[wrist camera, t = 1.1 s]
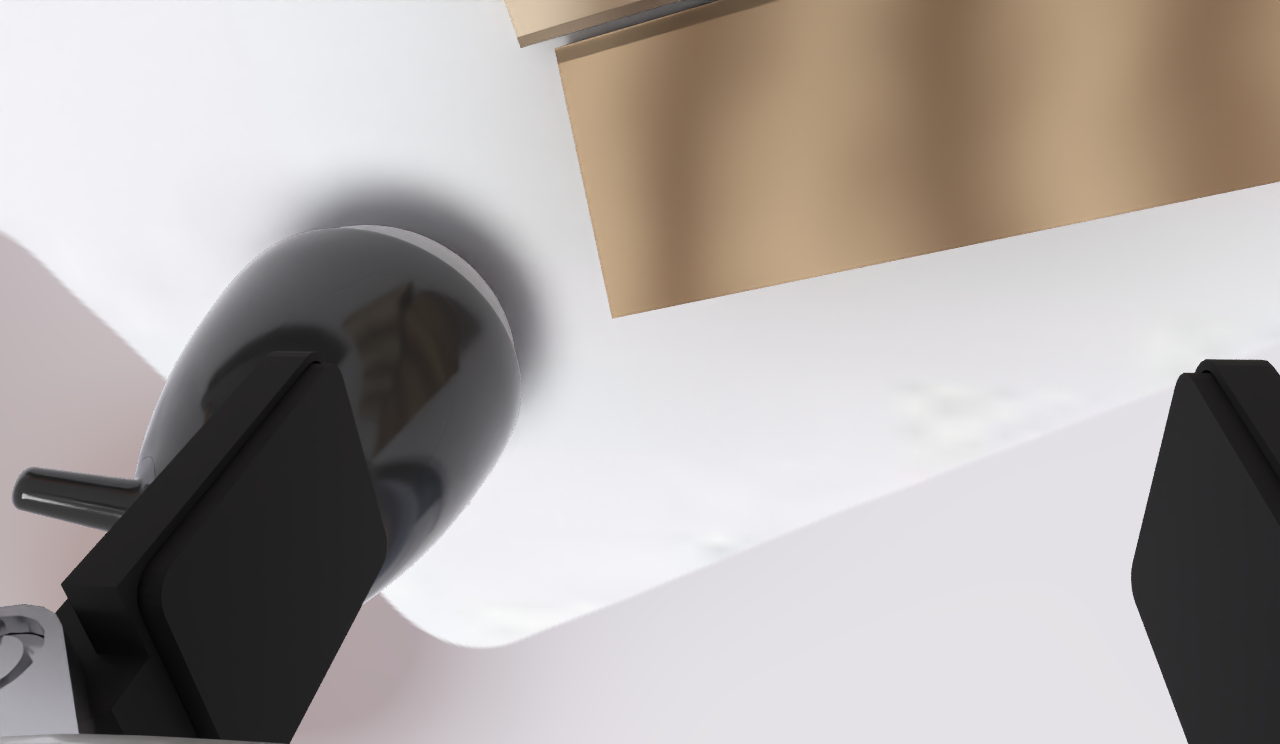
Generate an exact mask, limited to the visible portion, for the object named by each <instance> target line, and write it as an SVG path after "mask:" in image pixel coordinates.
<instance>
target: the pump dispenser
mask: <svg viewBox="0 0 1280 744" xmlns="http://www.w3.org/2000/svg"><path fill="white" fill-rule="evenodd" d="M276 351H290V352H319V353H321V354H323V356H324V357H325V358H326V360H327V362H328V364H335V365H337V366H338V368H339V369H340V371H341V373H342V376H343V379H344V383H345V387H346V390H347V394H348V398H349V401H350V405H351V408H352V412H353V416H354V419H355V423H356V427H357V430H358V434H359V438H360V441H361V445H362V448H363V452H364V456H365V459H366V463H367V467H368V470H369V474H370V478H371V481H372V485H373V489H374V492H375V496H376V499H377V503H378V507H379V510H380V514H381V518H382V521H383V525H384V529H385V532H386V537H387V551H386V557H385V561H384V564H383V566H382V568H381V570H380V572H379V574H378V576H377V578H376V580H375V581H374V583H373V585H372V587H371V589H370V591H369V593H368V595H367V597H366V599H365V601H364V602H363V604H365V603H366V602H368V601H369V600H370V599H372V598H373V597H374V596H375V595H377V594H378V593H380V592H381V591H382V590H383V589H385V588H386V587H387V586H389V585H390V584H391V583H392V582H393V581H395V580H396V579H397V578H398V577H399V576H401V575H402V574H403V573H404V572H405V571H406V570H408V569H409V568H410V567H411V566H412V565H413V564H414V563H415V562H417V561H418V560H419V559H420V558H421V557H422V556H423V555H424V554H425V553H426V552H427V551H428V550H429V549H430V548H431V547H432V546H433V545H434V544H435V543H436V542H437V541H438V540H439V539H440V538H441V537H442V535H443V534H444V533H445V532H446V531H447V530H448V529H449V528H450V526H451V525H452V524H453V523H454V522H455V520H456V519H457V518H458V517H459V516H460V514H461V513H462V512H463V510H464V509H465V508H466V506H467V505H468V504H469V503H470V501H471V500H472V499H473V497H474V496H475V494H476V493H477V492H478V490H479V489H480V487H481V486H482V484H483V483H484V482H485V480H486V479H487V477H488V476H489V474H490V473H491V471H492V470H493V468H494V467H495V465H496V464H497V462H498V460H499V458H500V457H501V455H502V453H503V451H504V449H505V447H506V445H507V443H508V441H509V439H510V437H511V434H512V432H513V429H514V427H515V424H516V421H517V418H518V414H519V409H520V403H521V374H520V368H519V363H518V359H517V355H516V352H515V347H514V341H513V336H512V333H511V329H510V326H509V323H508V320H507V318H506V315H505V313H504V311H503V309H502V307H501V305H500V303H499V301H498V299H497V298H496V296H495V295H494V293H493V291H492V290H491V288H490V287H489V286H488V284H487V283H486V282H485V280H484V279H483V278H482V277H481V276H480V275H479V274H478V273H477V272H476V271H475V270H474V269H473V268H472V267H471V266H470V265H469V264H468V263H467V262H466V261H464V260H463V259H462V258H461V257H459V256H458V255H457V254H455V253H454V252H452V251H451V250H449V249H448V248H446V247H445V246H443V245H441V244H439V243H437V242H436V241H433V240H431V239H429V238H427V237H425V236H422V235H419V234H417V233H414V232H411V231H407V230H403V229H399V228H393V227H387V226H378V225H354V226H345V227H339V228H327V229H318V230H312V231H307V232H303V233H300V234H296V235H294V236H291V237H288V238H286V239H284V240H282V241H280V242H278V243H276V244H274V245H272V246H271V247H269V248H268V249H266V250H265V251H263V252H262V253H261V254H260V255H258V256H257V257H256V258H255V259H254V260H252V261H251V262H250V263H249V264H248V265H247V266H246V267H245V268H244V269H243V270H242V271H241V272H240V273H239V274H238V275H237V276H236V277H235V278H234V279H233V280H232V282H231V283H230V284H229V285H228V286H227V287H226V289H225V290H224V291H223V293H222V294H221V295H220V297H219V298H218V299H217V301H216V302H215V303H214V305H213V306H212V307H211V309H210V310H209V312H208V313H207V314H206V316H205V317H204V319H203V320H202V321H201V323H200V324H199V326H198V327H197V329H196V330H195V332H194V333H193V335H192V337H191V338H190V340H189V341H188V343H187V344H186V346H185V348H184V349H183V351H182V353H181V355H180V356H179V358H178V360H177V362H176V364H175V366H174V368H173V369H172V371H171V373H170V375H169V377H168V380H167V382H166V384H165V386H164V388H163V390H162V393H161V395H160V397H159V400H158V402H157V405H156V407H155V410H154V412H153V415H152V417H151V420H150V423H149V426H148V428H147V431H146V435H145V437H144V441H143V444H142V448H141V451H140V455H139V459H138V463H137V469H136V474H135V478H134V479H127V478H119V477H111V476H103V475H95V474H87V473H79V472H72V471H63V470H56V469H49V468H41V467H30V468H27V469H26V470H24V471H23V472H22V473H21V474H20V475H19V477H18V479H17V481H16V483H15V486H14V489H13V492H12V502H13V504H14V506H15V507H16V508H17V509H19V510H22V511H26V512H30V513H34V514H38V515H42V516H46V517H50V518H54V519H58V520H62V521H66V522H70V523H74V524H78V525H82V526H86V527H90V528H94V529H98V530H102V531H106V532H108V531H109V530H110V529H111V528H112V527H113V525H114V524H115V523H116V522H117V521H118V520H119V519H120V518H121V517H122V515H123V514H124V513H125V512H126V511H127V510H128V509H129V508H130V506H131V505H132V504H133V503H134V502H135V501H136V500H137V499H138V498H139V496H140V495H141V494H142V493H143V492H144V491H145V490H146V489H147V488H148V486H149V485H150V484H151V483H152V482H153V481H154V480H155V479H156V477H157V476H158V475H159V474H160V473H161V472H162V471H163V470H164V469H165V467H166V466H167V465H168V464H169V463H170V462H171V461H172V460H173V458H174V457H175V456H176V455H177V454H178V453H179V452H180V451H181V450H182V448H183V447H184V446H185V445H186V444H187V443H188V442H189V441H190V440H191V438H192V437H193V436H194V435H195V434H196V433H197V432H198V431H199V429H200V428H201V427H202V426H203V425H204V424H205V423H206V422H207V421H208V419H209V418H210V417H211V416H212V415H213V414H214V413H215V412H216V410H217V409H218V408H219V407H220V406H221V405H222V404H223V403H224V402H225V400H226V399H227V398H228V397H229V396H230V395H231V394H232V393H233V392H234V390H235V389H236V388H237V387H238V386H239V385H240V384H241V383H242V381H243V380H244V379H245V378H246V377H247V376H248V375H249V374H250V373H251V371H252V370H253V369H254V368H255V367H256V366H257V365H258V364H259V362H260V361H261V360H262V359H263V358H264V357H265V356H266V355H267V354H269V353H270V352H276ZM363 604H362V605H363Z"/></svg>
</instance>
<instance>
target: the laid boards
mask: <svg viewBox="0 0 1280 744" xmlns="http://www.w3.org/2000/svg"><path fill="white" fill-rule="evenodd" d="M504 1H505V4H506V7H507V10H508V12H509V15H510V18H511V21H512V23H513V26H514V29H515V32H516V34H517V39H518V41H519V44H520V47H521V48H522V47H525V46H529V45H532V44H536V43H539V42H542V41H546V40H549V39H552V38H556V37H559V36H563V35H566V34H569V33H573V32H576V31H579V30H583V29H586V28H590V27H593V26H596V25H600V24H603V23H606V22H610V21H613V20H616V19H620V18H623V17H627V16H630V15H633V14H637V13H640V12H643V11H647V10H650V9H654V8H657V7H660V6H664V5H667V4H670V3H674V2H677V1H681V0H504Z"/></svg>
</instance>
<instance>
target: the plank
mask: <svg viewBox="0 0 1280 744" xmlns="http://www.w3.org/2000/svg"><path fill="white" fill-rule="evenodd" d="M555 52H556V57H557V62H558V66H559V71H560V76H561V80H562V85H563V90H564V94H565V99H566V104H567V108H568V113H569V118H570V123H571V127H572V132H573V137H574V141H575V146H576V151H577V155H578V160H579V165H580V170H581V174H582V179H583V184H584V188H585V193H586V198H587V202H588V207H589V212H590V216H591V221H592V226H593V231H594V235H595V240H596V245H597V249H598V254H599V259H600V263H601V268H602V273H603V277H604V282H605V287H606V292H607V296H608V301H609V306H610V310H611V315H612V318H617V317H622V316H627V315H632V314H637V313H641V312H646V311H651V310H656V309H661V308H666V307H671V306H675V305H680V304H685V303H690V302H695V301H700V300H705V299H710V298H714V297H719V296H724V295H729V294H734V293H739V292H744V291H749V290H753V289H758V288H763V287H768V286H773V285H778V284H783V283H787V282H792V281H797V280H802V279H807V278H812V277H817V276H822V275H826V274H831V273H836V272H841V271H846V270H851V269H856V268H861V267H865V266H870V265H875V264H880V263H885V262H890V261H895V260H899V259H904V258H909V257H914V256H919V255H924V254H929V253H934V252H938V251H943V250H948V249H953V248H958V247H963V246H968V245H973V244H977V243H982V242H987V241H992V240H997V239H1002V238H1007V237H1011V236H1016V235H1021V234H1026V233H1031V232H1036V231H1041V230H1046V229H1050V228H1055V227H1060V226H1065V225H1070V224H1075V223H1080V222H1085V221H1089V220H1094V219H1099V218H1104V217H1109V216H1114V215H1119V214H1123V213H1128V212H1133V211H1138V210H1143V209H1148V208H1153V207H1158V206H1162V205H1167V204H1172V203H1177V202H1182V201H1187V200H1192V199H1197V198H1201V197H1206V196H1211V195H1216V194H1221V193H1226V192H1231V191H1235V190H1240V189H1245V188H1250V187H1255V186H1260V185H1265V184H1270V183H1274V182H1279V181H1280V0H719V1H715V2H712V3H708V4H705V5H702V6H698V7H695V8H691V9H688V10H685V11H681V12H678V13H674V14H671V15H667V16H664V17H661V18H657V19H654V20H650V21H647V22H644V23H640V24H637V25H633V26H630V27H627V28H623V29H620V30H616V31H613V32H610V33H606V34H603V35H599V36H596V37H592V38H589V39H586V40H582V41H579V42H575V43H572V44H569V45H565V46H562V47H558V48H555Z"/></svg>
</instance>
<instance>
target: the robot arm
mask: <svg viewBox="0 0 1280 744" xmlns="http://www.w3.org/2000/svg"><path fill="white" fill-rule="evenodd" d="M386 551H387V537H386V532H385V529H384V525H383V521H382V518H381V514H380V510H379V507H378V503H377V499H376V496H375V492H374V489H373V485H372V481H371V478H370V474H369V470H368V467H367V463H366V459H365V456H364V452H363V448H362V445H361V441H360V438H359V434H358V430H357V427H356V423H355V419H354V416H353V412H352V408H351V405H350V401H349V398H348V394H347V390H346V387H345V383H344V379H343V376H342V373H341V371H340V369H339V368H338V366H337V365H335V364H328V362H327V360H326V358H325V357H324V356H323V354H321V353H319V352H290V351H276V352H270V353H269V354H267V355H266V356H265V357H264V358H263V359H262V360H261V361H260V362H259V364H258V365H257V366H256V367H255V368H254V369H253V370H252V371H251V373H250V374H249V375H248V376H247V377H246V378H245V379H244V380H243V381H242V383H241V384H240V385H239V386H238V387H237V388H236V389H235V390H234V392H233V393H232V394H231V395H230V396H229V397H228V398H227V399H226V400H225V402H224V403H223V404H222V405H221V406H220V407H219V408H218V409H217V410H216V412H215V413H214V414H213V415H212V416H211V417H210V418H209V419H208V421H207V422H206V423H205V424H204V425H203V426H202V427H201V428H200V429H199V431H198V432H197V433H196V434H195V435H194V436H193V437H192V438H191V440H190V441H189V442H188V443H187V444H186V445H185V446H184V447H183V448H182V450H181V451H180V452H179V453H178V454H177V455H176V456H175V457H174V458H173V460H172V461H171V462H170V463H169V464H168V465H167V466H166V467H165V469H164V470H163V471H162V472H161V473H160V474H159V475H158V476H157V477H156V479H155V480H154V481H153V482H152V483H151V484H150V485H149V486H148V488H147V489H146V490H145V491H144V492H143V493H142V494H141V495H140V496H139V498H138V499H137V500H136V501H135V502H134V503H133V504H132V505H131V506H130V508H129V509H128V510H127V511H126V512H125V513H124V514H123V515H122V517H121V518H120V519H119V520H118V521H117V522H116V523H115V524H114V525H113V527H112V528H111V529H110V530H109V531H108V532H107V533H106V534H105V536H104V537H103V538H102V539H101V540H100V541H99V542H98V543H97V544H96V546H95V547H94V548H93V549H92V550H91V551H90V552H89V553H88V554H87V556H86V557H85V558H84V559H83V560H82V561H81V562H80V563H79V565H78V566H77V567H76V568H75V569H74V570H73V571H72V572H71V573H70V575H69V576H68V577H67V578H66V579H65V580H64V581H63V583H62V584H61V586H62V588H63V590H64V591H65V593H66V595H67V597H68V599H67V600H66V601H65V602H64V603H63V605H62V606H61V607H60V608H59V609H58V610H57V612H56V613H53V612H51V611H50V610H48V609H46V608H45V607H41V606H34V605H27V604H22V605H13V606H4V607H0V744H290V742H291V740H292V738H293V736H294V734H295V732H296V730H297V728H298V726H299V725H300V723H301V721H302V719H303V717H304V715H305V713H306V711H307V709H308V707H309V705H310V703H311V702H312V700H313V698H314V696H315V694H316V692H317V690H318V688H319V686H320V684H321V683H322V681H323V678H324V677H325V675H326V673H327V671H328V669H329V667H330V665H331V663H332V661H333V660H334V658H335V656H336V654H337V652H338V650H339V648H340V646H341V644H342V643H343V640H344V639H345V637H346V635H347V633H348V631H349V629H350V627H351V625H352V623H353V622H354V620H355V618H356V616H357V614H358V612H359V610H360V608H361V606H362V604H363V602H364V601H365V599H366V597H367V595H368V593H369V591H370V589H371V587H372V585H373V583H374V581H375V580H376V578H377V576H378V574H379V572H380V570H381V568H382V566H383V564H384V561H385V557H386ZM1131 583H1132V592H1133V596H1134V600H1135V603H1136V606H1137V608H1138V611H1139V613H1140V616H1141V619H1142V621H1143V624H1144V627H1145V630H1146V632H1147V635H1148V638H1149V640H1150V643H1151V645H1152V648H1153V651H1154V654H1155V656H1156V659H1157V662H1158V664H1159V667H1160V669H1161V672H1162V675H1163V678H1164V680H1165V683H1166V686H1167V688H1168V691H1169V694H1170V696H1171V699H1172V702H1173V704H1174V707H1175V710H1176V712H1177V715H1178V718H1179V720H1180V723H1181V726H1182V728H1183V731H1184V734H1185V736H1186V739H1187V742H1188V744H1280V375H1279V374H1278V372H1277V371H1276V370H1275V368H1274V367H1273V366H1272V365H1271V364H1270V363H1269V362H1268V361H1265V360H1218V359H1205V360H1204V361H1202V362H1201V363H1200V364H1199V366H1198V367H1197V369H1196V372H1195V373H1183V374H1181V375H1180V377H1179V378H1178V380H1177V383H1176V386H1175V389H1174V394H1173V398H1172V402H1171V406H1170V410H1169V414H1168V419H1167V423H1166V427H1165V431H1164V435H1163V439H1162V444H1161V448H1160V452H1159V456H1158V460H1157V464H1156V468H1155V472H1154V477H1153V481H1152V485H1151V489H1150V493H1149V497H1148V502H1147V506H1146V510H1145V514H1144V518H1143V522H1142V526H1141V531H1140V535H1139V539H1138V543H1137V547H1136V551H1135V555H1134V559H1133V564H1132V571H1131Z"/></svg>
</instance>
